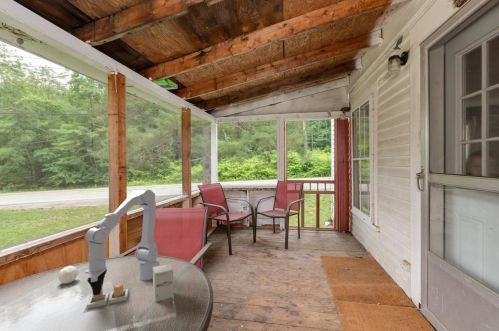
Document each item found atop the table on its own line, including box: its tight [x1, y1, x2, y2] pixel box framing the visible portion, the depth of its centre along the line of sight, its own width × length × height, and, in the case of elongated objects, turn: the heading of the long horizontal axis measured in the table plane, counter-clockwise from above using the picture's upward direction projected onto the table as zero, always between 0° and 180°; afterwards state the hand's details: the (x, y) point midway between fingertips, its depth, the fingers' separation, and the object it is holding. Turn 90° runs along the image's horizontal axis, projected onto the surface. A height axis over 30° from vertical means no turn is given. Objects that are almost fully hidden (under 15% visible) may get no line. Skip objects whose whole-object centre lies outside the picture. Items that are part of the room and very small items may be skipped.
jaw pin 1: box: [92, 284, 104, 298], centre depth 95 cm, size 3×3×5 cm
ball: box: [57, 265, 79, 285], centre depth 115 cm, size 8×8×8 cm
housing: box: [83, 288, 131, 313], centre depth 96 cm, size 15×11×3 cm
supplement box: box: [152, 263, 175, 303], centre depth 99 cm, size 7×7×13 cm
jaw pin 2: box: [113, 283, 124, 298], centre depth 98 cm, size 3×3×5 cm
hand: (98, 291), depth 95 cm, fingers closed on jaw pin 1, 3 cm apart
